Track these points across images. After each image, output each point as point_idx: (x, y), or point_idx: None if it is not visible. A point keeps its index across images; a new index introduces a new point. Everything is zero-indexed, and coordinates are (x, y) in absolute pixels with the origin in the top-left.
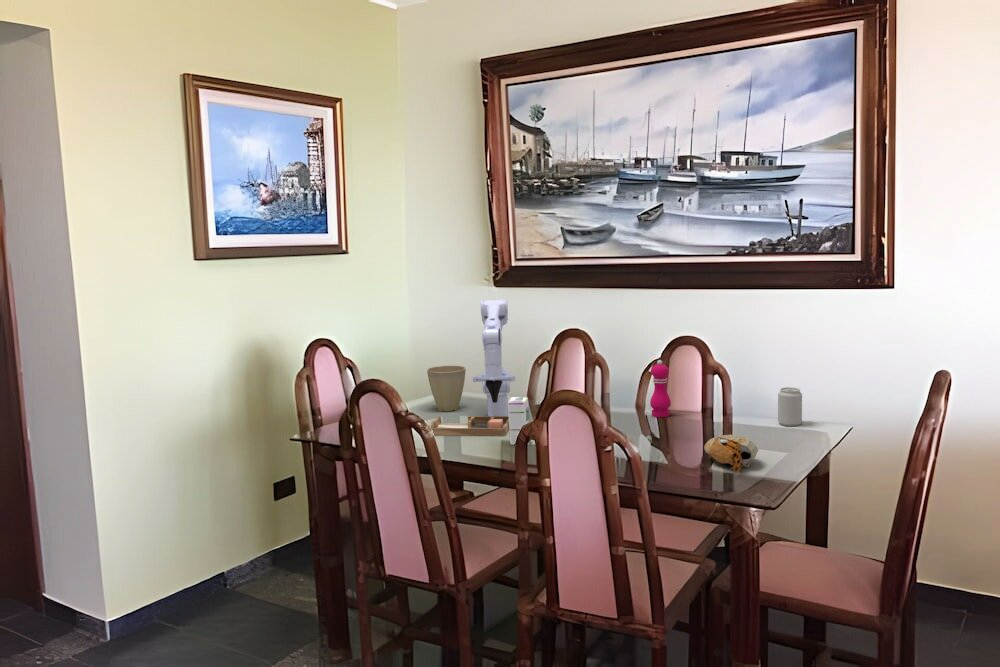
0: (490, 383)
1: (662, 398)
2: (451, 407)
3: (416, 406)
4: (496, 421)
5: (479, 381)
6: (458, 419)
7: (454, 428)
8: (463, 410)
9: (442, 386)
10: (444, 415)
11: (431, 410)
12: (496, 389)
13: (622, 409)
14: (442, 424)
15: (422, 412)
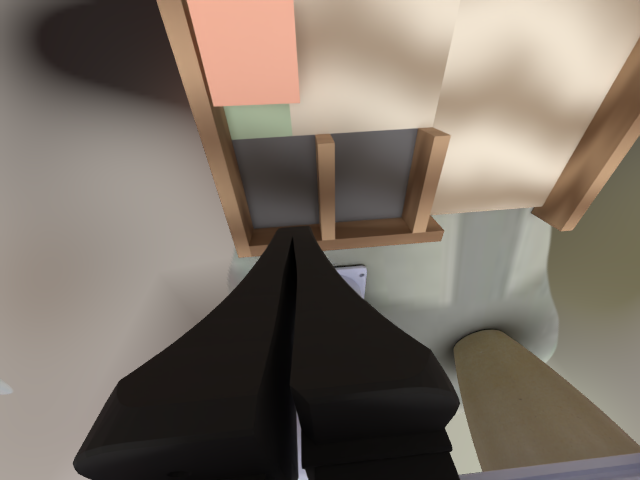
0: (347, 429)
1: None
2: (478, 341)
3: (551, 351)
4: (230, 11)
5: (579, 460)
6: (458, 272)
7: None
8: (438, 341)
9: (569, 407)
10: (497, 302)
11: (523, 332)
12: (234, 315)
13: (5, 389)
14: (539, 190)
15: (552, 317)
